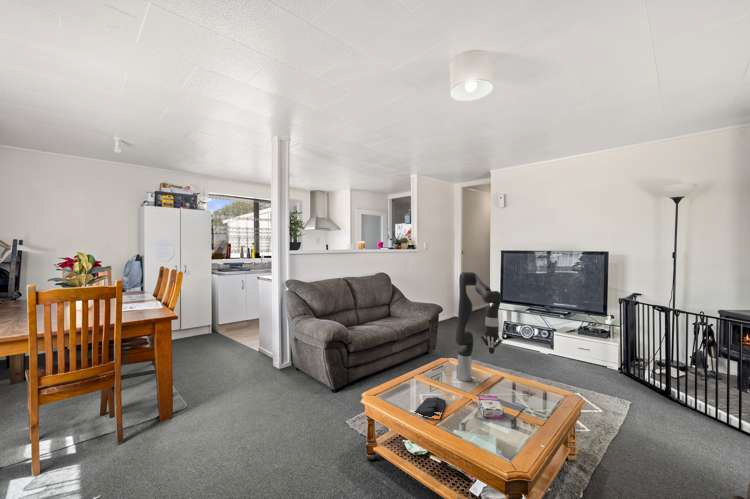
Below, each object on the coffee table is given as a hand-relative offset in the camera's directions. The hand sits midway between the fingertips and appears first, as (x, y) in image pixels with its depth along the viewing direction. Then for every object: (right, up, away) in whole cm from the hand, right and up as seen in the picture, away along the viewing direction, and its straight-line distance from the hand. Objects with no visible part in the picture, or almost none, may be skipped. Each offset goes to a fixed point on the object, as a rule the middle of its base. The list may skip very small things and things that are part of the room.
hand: (491, 353), depth 193 cm
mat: (+5, -30, -8) cm, 31 cm away
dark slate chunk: (-37, -30, -8) cm, 48 cm away
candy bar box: (-4, -27, -2) cm, 27 cm away
